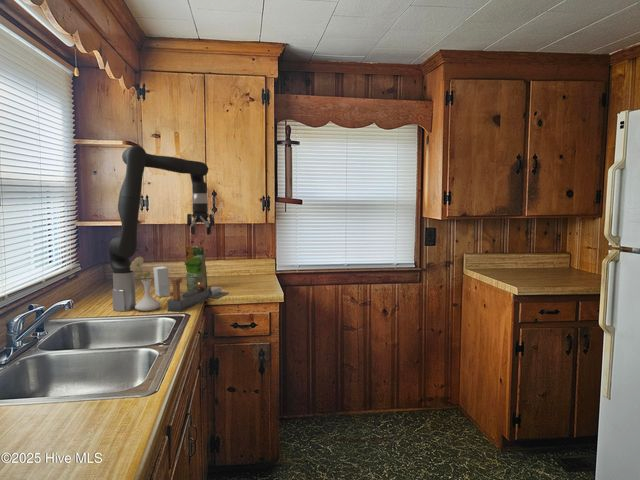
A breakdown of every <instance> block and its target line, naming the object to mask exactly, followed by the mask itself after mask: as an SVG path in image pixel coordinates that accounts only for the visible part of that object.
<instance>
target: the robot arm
mask: <svg viewBox="0 0 640 480" xmlns="http://www.w3.org/2000/svg"><path fill="white" fill-rule="evenodd" d="M121 158H122V162H123V163H124V164H125V165H126V170H125V176H124V179H123V182H122V185H121V188H120V190H119V195H118V204H117V209H118V210H117V212H118V214H119V215H118V216H119V218H120V219H119V220H120V223H121V231H120V232H121V233H120V236H117V237H114V238H112V239H111V240H110V242H109V246H108V253H109V254H108V255H109V264H110V267H111V269H112V282H113V283H112V285H113V289H112V290H111V291H112V292H111V293H112V296H111V297H112V309H113V311H115V312H116V311H117V312H126V311H132V310H136V308H135V305H136V304H137V299H136V297H137V295H136V279H135V277H136V276H135V275H136V274H135V271H131V270H130V269H131V268H130V265H131V264H132V261H130V258H132V257H133V256H134V255H135V254H136V251H137V246H138V241H137V240H138V224H139V223H138V222H139V213H140V207H141V198H142V188H143V175H144V172H145V168H152V169H158V170H164V171H168V172H173V173H176V174H177V173H178V174H188V175H190V179H191V184H192V197H191V203H192V213H187V215H186V225H187V226H189V227H190V234H192V235H195V234H196V225H197V223H199V224H200V223H203V224H204V225H205V226H206V235H207V236H209V235H211V233H212V227H214V226H215V224H216V223H215V214H213V213H210V214H209V213H208V212H209V201H208V200H209V199H208V198H209V197H208V186H207V185H208V184H207V183H206V182H205V179H204V176H206V175H207V174H208V172H209V166H208V165H207V164H206V163H205V162H202V161H196V160H188V159H184V158H179V157H176V156H169V155H167V156H166V155H157V154H151V153H147V152H146V150H145V148H144V147H142V146H140V145H137V144H136V145H131V146H129V147H127V148H126V149H125V150H123V152H122V155H121ZM192 218H193V219H192Z"/></svg>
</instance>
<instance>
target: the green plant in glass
mask: <svg viewBox="0 0 640 480" xmlns="http://www.w3.org/2000/svg"><path fill="white" fill-rule="evenodd" d="M184 249H185V255H184V257H185V258H186V259H185V261H184V265H185V266H186V267H185V269H186V273H185V274H186V275H185V278H186V279H185V280H186V288H187V290H186V291H188V290H191V289H198V284H197V282H199V281H204V289H207V288H208V276H207V275H208V274H207V273H208V272H207V266H206V253H205V248H204V246H203V245H194V244H193V246H192V245H188V244H185V245H184Z"/></svg>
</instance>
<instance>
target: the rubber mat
mask: <svg viewBox="0 0 640 480" xmlns="http://www.w3.org/2000/svg"><path fill="white" fill-rule="evenodd" d="M228 293H229V292H225V291H224V292H223V291H222V293H219V294H217V295H215V296H213V297H209V299H216V300H217V299H218V300H219V299H220V298H223V297H224V295H225V296H227V295H229V294H228ZM226 294H227V295H226ZM222 296H223V297H222Z"/></svg>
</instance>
